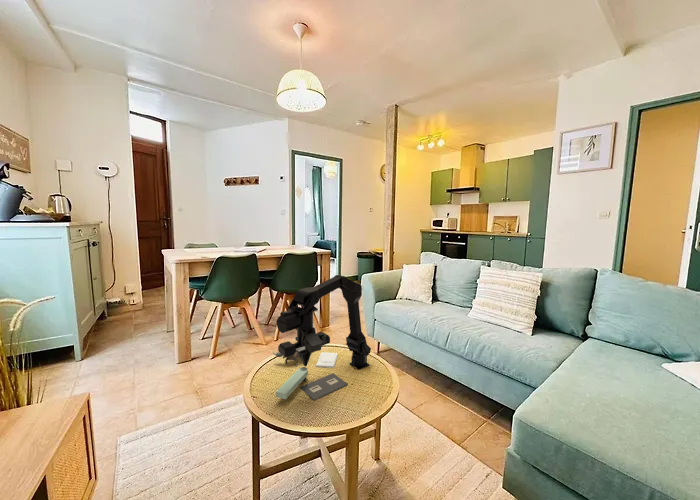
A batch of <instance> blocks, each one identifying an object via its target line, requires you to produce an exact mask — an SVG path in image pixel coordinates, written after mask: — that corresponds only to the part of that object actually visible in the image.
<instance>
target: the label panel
mask: <svg viewBox="0 0 700 500" xmlns="http://www.w3.org/2000/svg"><path fill="white" fill-rule="evenodd" d="M307 376H308V375H307ZM307 376H306V377H305V379H304V380H303V381H302V382H303V383H304V382H307V380H308V377H307ZM302 382H301V383H302ZM347 386H349V383H348V382H346V381H345V380H343V379H342V378H341V377H339V376H338V375H337V374H335V373H329V374H327V375H325V376H322V377H320V378H318V379H315V380H313V381H311V382H309V383H305V384H304V385H301V386H299V389H300V390H301V391H302V392H303V393H305V394H306V395H307V397H309V398H310V399H311V400H312V401H313V402H314V401H317V400H319V399H321V398H323V397H326V396H327V395H331V394H332V393H334V392H337V391H338V390H341V389H343V388H345V387H347Z"/></svg>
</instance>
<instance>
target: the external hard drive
mask: <svg viewBox="0 0 700 500" xmlns="http://www.w3.org/2000/svg"><path fill="white" fill-rule="evenodd" d="M338 356H339V353H337V352H327V351H324V352H323V351H321V352H320V355H319V357H318V360H317V362H316V364H315V367H316V368H325V369H335V365H336V362H337V359H338Z"/></svg>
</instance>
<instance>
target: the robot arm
mask: <svg viewBox="0 0 700 500" xmlns="http://www.w3.org/2000/svg"><path fill="white" fill-rule="evenodd" d="M362 287H363V286H362V284H361V283H360V282H356V281H353V280H351V279H350V278H348V277H346V276H345V275H341V274H336V275H334V276H333V277H330V278H328V279H327V280H324V281H323V282H321V283H319V284H317V285H315V286H312V287H311V286H310V287H304V288H300V289H297V290H296V291H295V293H294V295H293V299H292V300H291V302H290V304H289V305H288V308H287V309H288V310H285V311H280V314H279V316H278V317H277V320H276V327H277V330H278V331H279V332H280V333H281V334H284V333H288V332H290V331H293V330H295V331H296V336H295V337H294V338H295V342H294V343H292V342H291V341H290V340H289V341H285V342H281V343H279V344H278V346H277V352H280V353H281V354H282V355H283V356H285V357H288V356H291V355H294V354H295V352H298V354H299V356H300V357H299V359H300V360H301V363H302V366H303V367H307V365H308V363H309V362H310V361H309V360H310V358H311V356H312V354H313V353H315V352H318V351H321V350H322V347H323V346H325V345H328V344H330V343H331V337H330V335H328V334H327V333H325V332H323V331H320V332H319V331H318V332H316V327H314V312H317V311H318V310H319V308H317V307H316V306H315V305H317V304H318V303H319V302H320V299H322V298H323V297H325V296H326V295H328V294H330V293H332V292H334V291H336V290H338V289H340V290H341V293H342V297H343V299H344V300H345V302H346V304H347V305H346V306H347V311H348V312H347V313H348V314H347V316H348V326H349V334H348V335H347V336H346V337H345V341H346V343H345V346H347V348H348V350H349V351H351V362H349V365H350V366H352V367H354V368H355V369H357V370H361V369H364V368H366V367H369V366H370V363H369V362H368V356H369V355H370V353H371V351H372V347H370V346H369V345H368V342H367V339H366V336H365V335H364V332H362V326H361V325H362V323H361V322H362V321H361V314H360V313H361V312H360V299H361V297H362V293H363V288H362ZM296 342H297V343H296ZM283 356H282V357H283Z"/></svg>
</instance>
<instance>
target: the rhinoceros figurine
mask: <svg viewBox="0 0 700 500" xmlns="http://www.w3.org/2000/svg"><path fill="white" fill-rule="evenodd" d="M295 343H297V341H295ZM272 354H273V355H274V356H275V357H276V358H282V360H284V361H285V363H284V364H285V365H287V364H288V361H295V367H298V365H299V362H298V359H300V356H299V354H298V352H295V354H294V355H291V356H288V357H285V356H283V355H282V354H281V353H280V352H279V351H277V352H276V353H275V352H272Z"/></svg>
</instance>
